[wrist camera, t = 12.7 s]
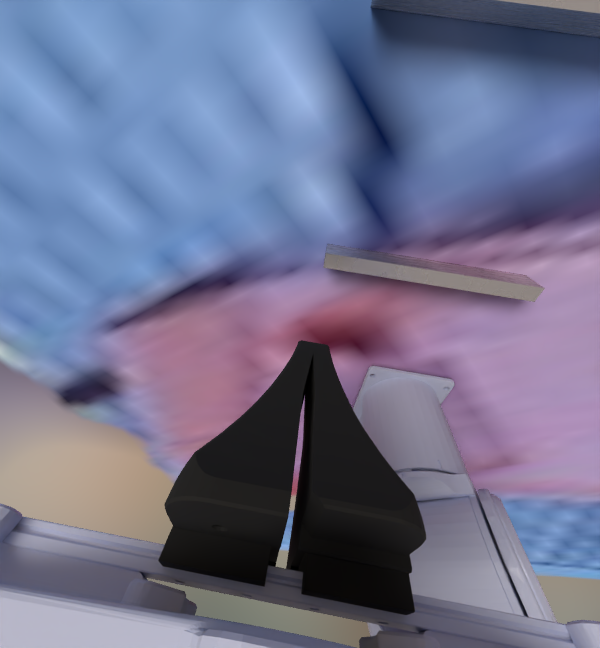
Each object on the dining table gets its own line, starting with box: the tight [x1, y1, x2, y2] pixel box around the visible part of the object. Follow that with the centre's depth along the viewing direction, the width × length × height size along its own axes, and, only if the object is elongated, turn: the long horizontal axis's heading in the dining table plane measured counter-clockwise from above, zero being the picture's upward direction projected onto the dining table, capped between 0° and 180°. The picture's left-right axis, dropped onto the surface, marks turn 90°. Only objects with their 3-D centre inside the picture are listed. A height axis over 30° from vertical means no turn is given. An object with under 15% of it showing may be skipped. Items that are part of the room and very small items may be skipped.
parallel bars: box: [324, 0, 600, 302], centre depth 14 cm, size 13×14×2 cm
